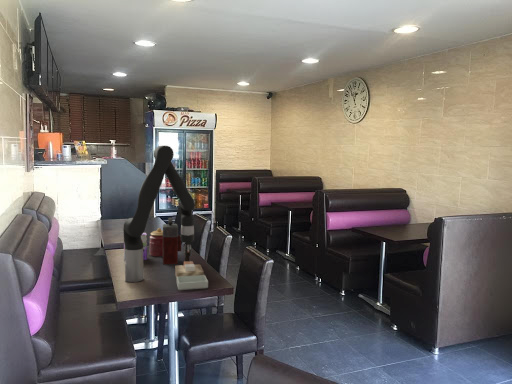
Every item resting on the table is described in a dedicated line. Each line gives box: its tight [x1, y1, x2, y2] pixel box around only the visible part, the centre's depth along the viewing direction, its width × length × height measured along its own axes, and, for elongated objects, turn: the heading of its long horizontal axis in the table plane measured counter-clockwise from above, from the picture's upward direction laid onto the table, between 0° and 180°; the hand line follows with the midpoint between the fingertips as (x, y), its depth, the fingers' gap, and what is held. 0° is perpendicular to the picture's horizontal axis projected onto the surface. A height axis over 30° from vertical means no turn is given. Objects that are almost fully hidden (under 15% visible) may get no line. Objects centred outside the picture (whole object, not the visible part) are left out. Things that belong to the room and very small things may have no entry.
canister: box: [148, 227, 163, 257], centre depth 268 cm, size 13×13×18 cm
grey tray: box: [176, 274, 209, 291], centre depth 210 cm, size 15×11×4 cm
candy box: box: [123, 232, 148, 262], centre depth 254 cm, size 14×6×16 cm, turn 112°
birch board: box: [174, 263, 205, 280], centre depth 222 cm, size 14×14×5 cm
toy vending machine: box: [162, 217, 182, 265], centre depth 250 cm, size 9×11×28 cm
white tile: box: [185, 264, 195, 272], centre depth 220 cm, size 5×5×2 cm
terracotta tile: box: [183, 260, 195, 268], centre depth 225 cm, size 5×5×2 cm
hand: (187, 262), depth 232 cm, fingers closed
